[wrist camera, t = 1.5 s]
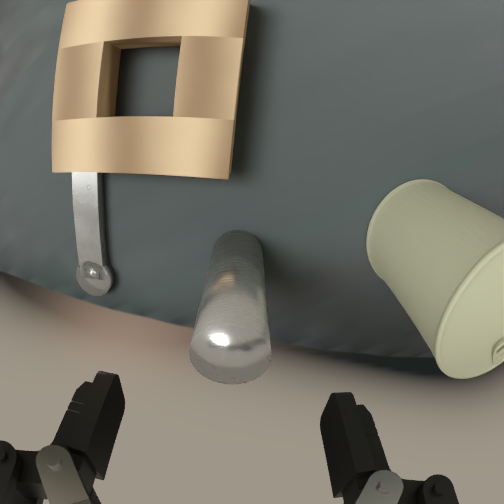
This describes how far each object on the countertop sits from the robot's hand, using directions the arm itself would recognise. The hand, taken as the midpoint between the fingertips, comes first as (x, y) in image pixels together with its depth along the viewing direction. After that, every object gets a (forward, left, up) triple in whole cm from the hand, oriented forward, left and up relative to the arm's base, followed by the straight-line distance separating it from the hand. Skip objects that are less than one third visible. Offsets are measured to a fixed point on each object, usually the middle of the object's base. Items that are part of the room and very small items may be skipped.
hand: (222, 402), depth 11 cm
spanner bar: (+11, -1, -14) cm, 18 cm away
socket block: (+7, -12, -14) cm, 19 cm away
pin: (0, 0, -14) cm, 14 cm away
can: (-14, -3, -14) cm, 20 cm away
